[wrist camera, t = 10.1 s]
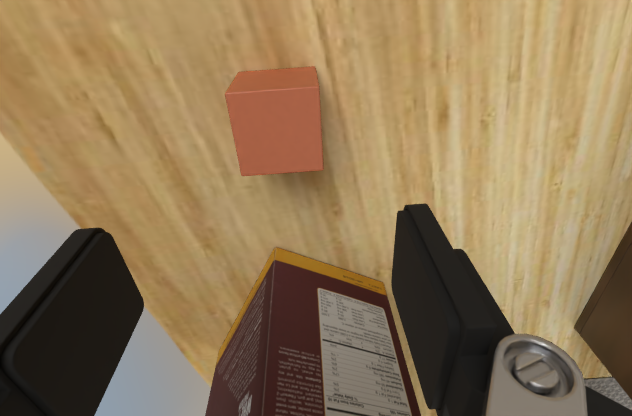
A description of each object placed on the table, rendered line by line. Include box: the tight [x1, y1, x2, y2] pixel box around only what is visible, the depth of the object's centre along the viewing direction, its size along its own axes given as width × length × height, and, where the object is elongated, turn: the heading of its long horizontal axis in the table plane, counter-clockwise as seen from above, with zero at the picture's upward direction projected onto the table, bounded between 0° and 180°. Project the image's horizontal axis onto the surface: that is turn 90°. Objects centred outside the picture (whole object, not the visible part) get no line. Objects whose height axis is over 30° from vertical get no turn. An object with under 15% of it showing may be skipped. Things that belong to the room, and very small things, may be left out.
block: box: [225, 67, 324, 176], centre depth 20 cm, size 4×4×4 cm
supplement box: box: [205, 247, 421, 416], centre depth 26 cm, size 10×15×16 cm
